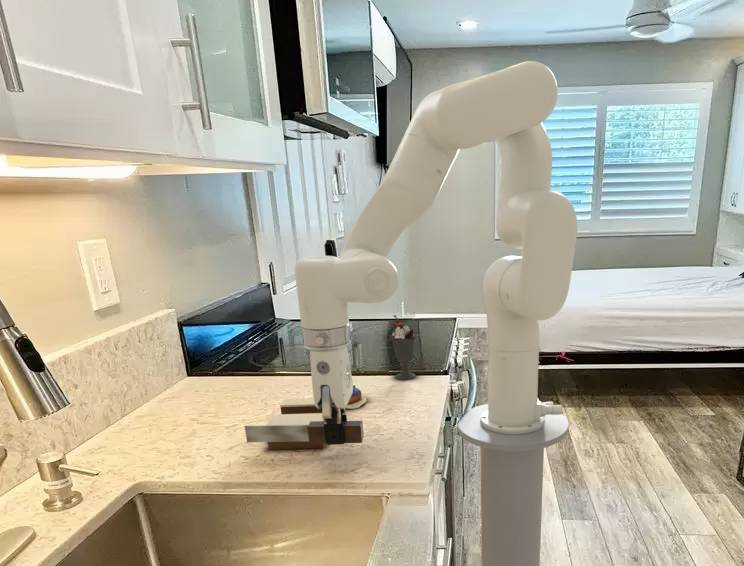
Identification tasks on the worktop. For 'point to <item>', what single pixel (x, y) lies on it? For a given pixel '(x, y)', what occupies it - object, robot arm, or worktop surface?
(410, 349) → the sundae
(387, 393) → the worktop surface
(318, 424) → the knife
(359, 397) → the dessert
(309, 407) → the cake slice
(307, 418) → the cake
